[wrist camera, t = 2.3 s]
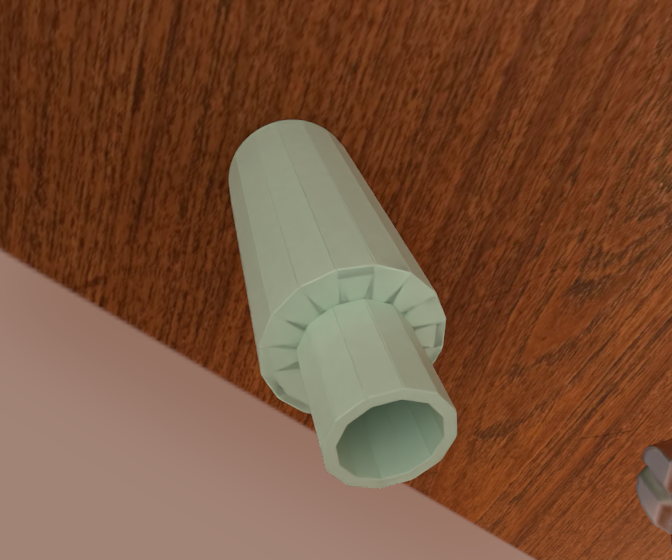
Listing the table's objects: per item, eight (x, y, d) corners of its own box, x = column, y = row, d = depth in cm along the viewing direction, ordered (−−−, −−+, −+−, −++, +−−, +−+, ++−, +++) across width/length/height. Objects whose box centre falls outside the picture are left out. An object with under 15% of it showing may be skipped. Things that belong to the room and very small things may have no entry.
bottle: (213, 217, 23) (246, 509, 12) (250, 102, 21) (328, 333, 10) (323, 244, 24) (436, 520, 14) (368, 140, 22) (540, 372, 12)
